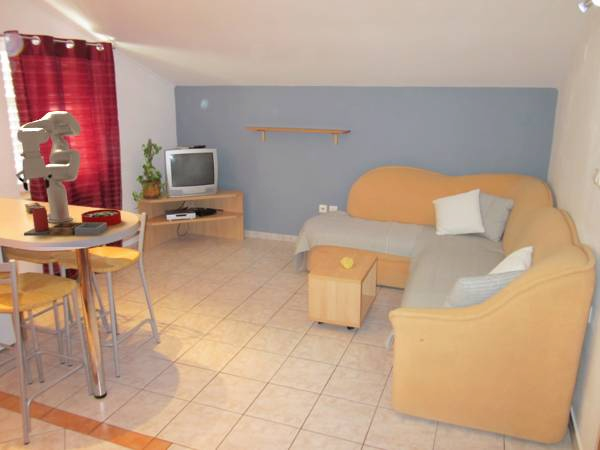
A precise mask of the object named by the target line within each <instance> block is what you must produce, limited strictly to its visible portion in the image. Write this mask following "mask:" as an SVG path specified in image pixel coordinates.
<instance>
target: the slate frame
mask: <svg viewBox="0 0 600 450" xmlns="http://www.w3.org/2000/svg"><path fill="white" fill-rule="evenodd" d="M74 229H75V234H74V235H75V236H99V235H101V234H102V233H103V232H105V231H107V230H108V227H107V223H83V224H81V225H80V226H78V227H76V228H74Z"/></svg>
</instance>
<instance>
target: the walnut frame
mask: <svg viewBox="0 0 600 450" xmlns="http://www.w3.org/2000/svg"><path fill="white" fill-rule="evenodd" d="M81 224H82V222H60V223H56V224H54V225H52V226H50V227H51V228H49V232H50V234H49V236H74V235H75V229H74V228H76V227H78V226H80V225H81Z"/></svg>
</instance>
